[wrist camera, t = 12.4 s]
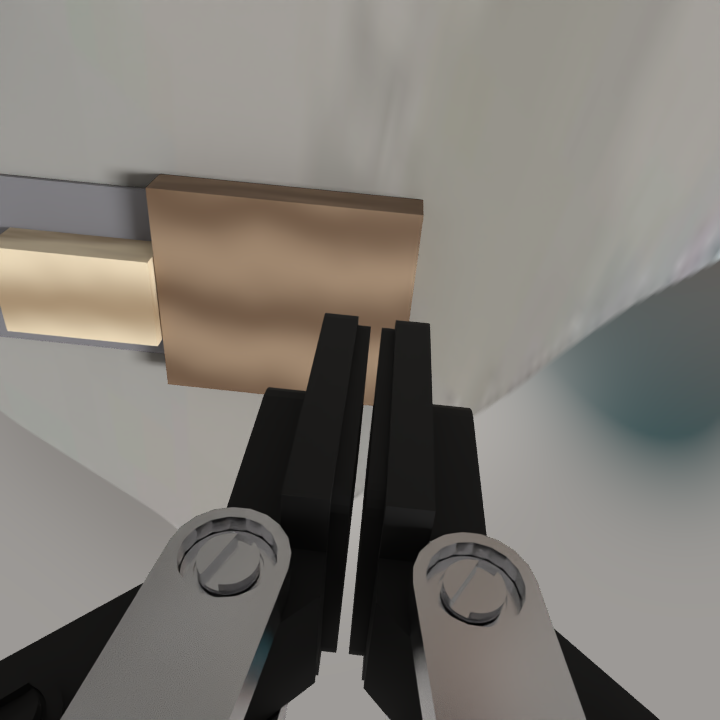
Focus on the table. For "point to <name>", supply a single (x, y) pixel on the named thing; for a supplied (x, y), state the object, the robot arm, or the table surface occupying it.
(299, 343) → the plate
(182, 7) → the table surface
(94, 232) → the rubber mat
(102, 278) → the maple tile
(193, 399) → the table surface
